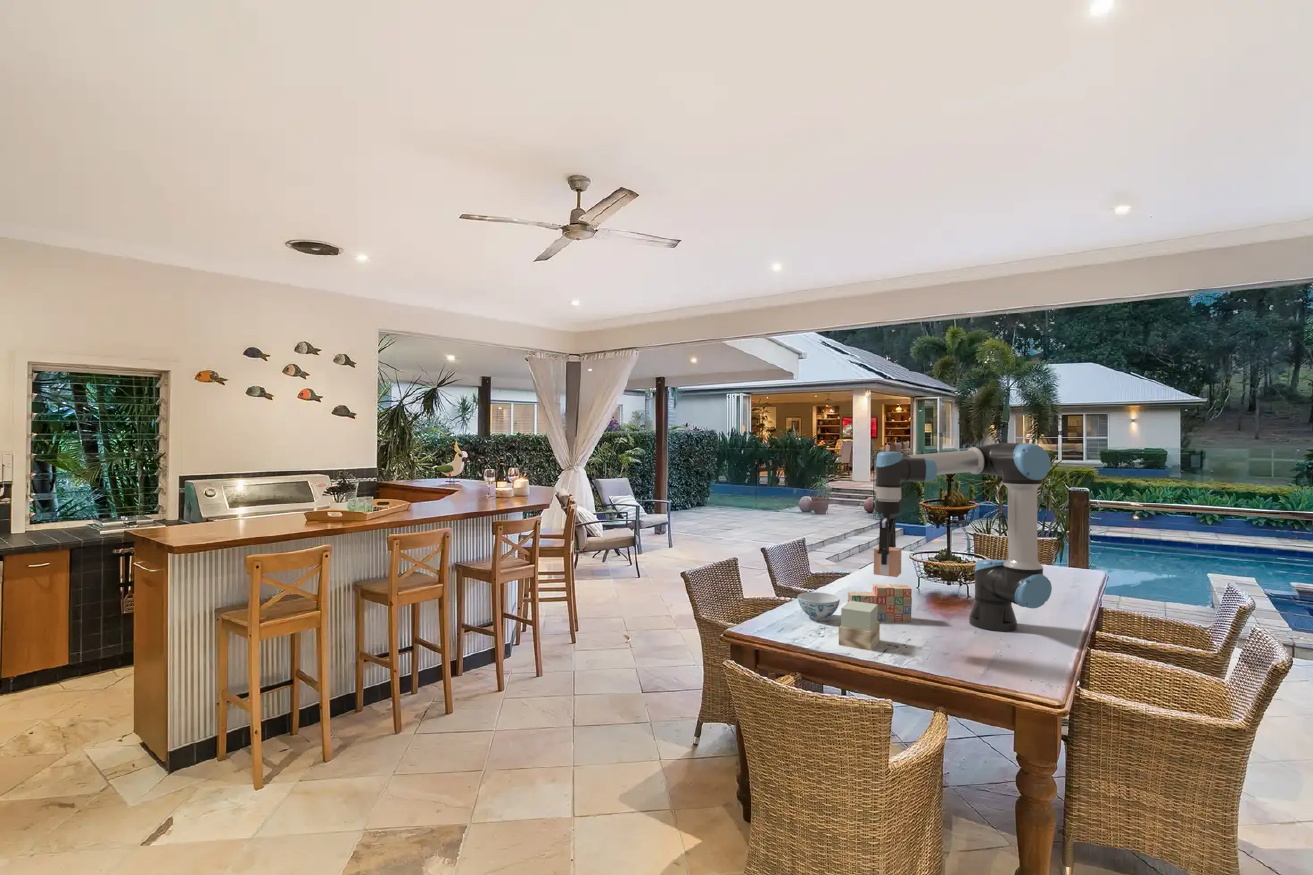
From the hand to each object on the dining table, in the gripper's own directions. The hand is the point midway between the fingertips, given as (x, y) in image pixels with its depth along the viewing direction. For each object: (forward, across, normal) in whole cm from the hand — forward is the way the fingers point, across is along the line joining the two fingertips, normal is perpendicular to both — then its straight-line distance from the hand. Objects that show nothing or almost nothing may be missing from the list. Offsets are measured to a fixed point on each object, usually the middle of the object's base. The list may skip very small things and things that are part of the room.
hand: (886, 572), depth 209 cm
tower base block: (+24, 0, -8) cm, 25 cm away
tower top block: (+18, 0, -8) cm, 20 cm away
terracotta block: (0, 0, 0) cm, 0 cm away
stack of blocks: (+24, -31, -8) cm, 40 cm away
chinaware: (+24, -20, -28) cm, 42 cm away
